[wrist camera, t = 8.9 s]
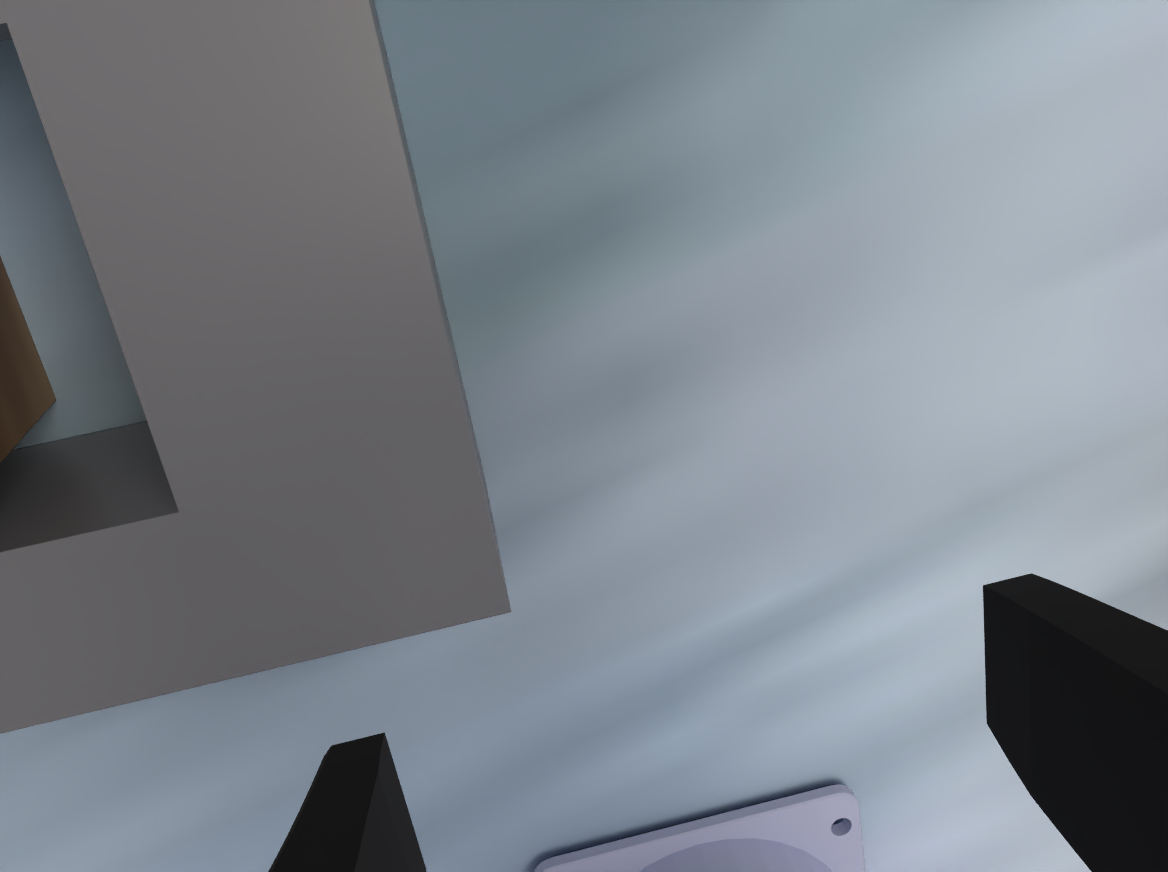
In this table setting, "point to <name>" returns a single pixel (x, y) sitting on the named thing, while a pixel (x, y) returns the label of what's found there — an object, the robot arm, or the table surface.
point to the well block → (239, 363)
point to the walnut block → (18, 372)
